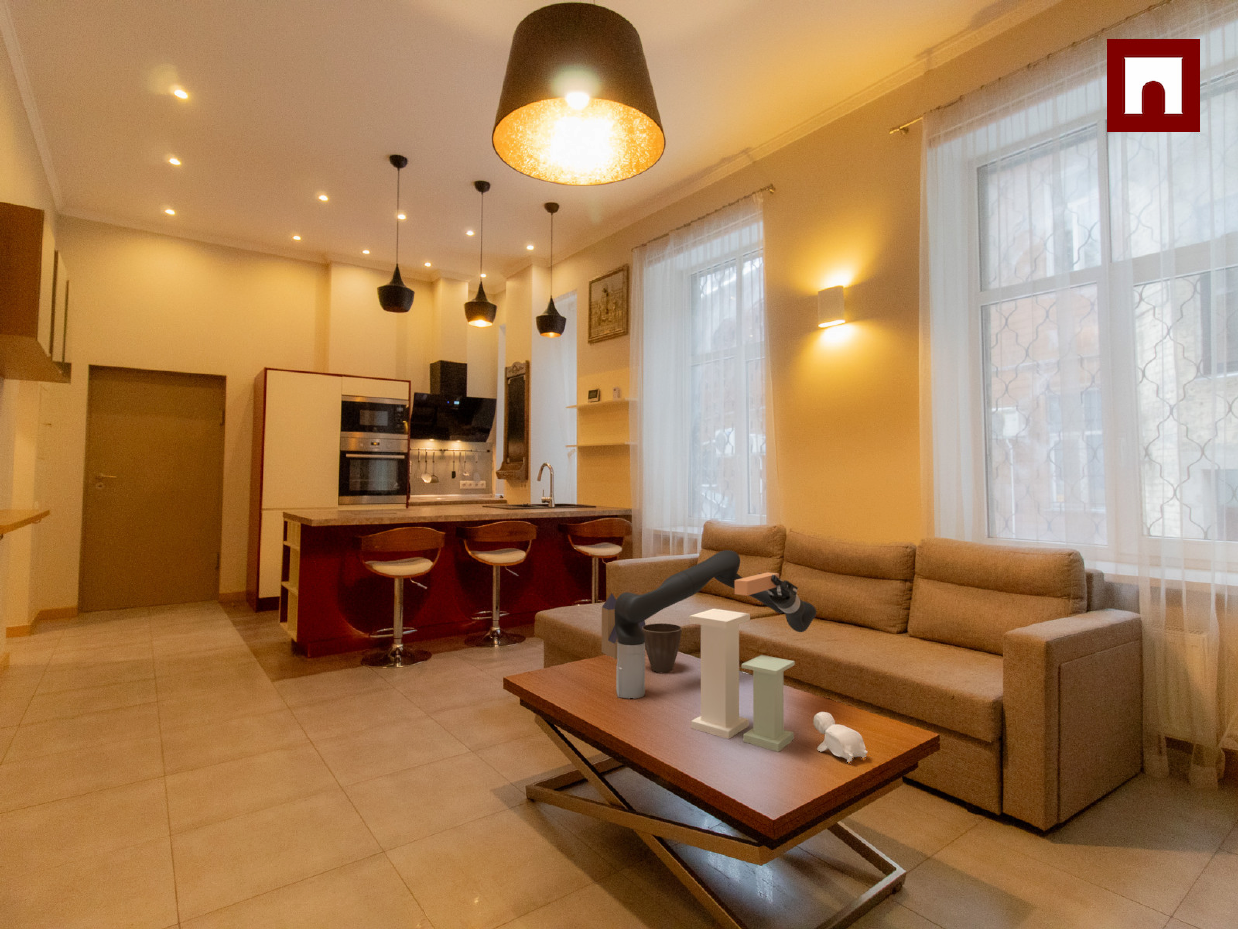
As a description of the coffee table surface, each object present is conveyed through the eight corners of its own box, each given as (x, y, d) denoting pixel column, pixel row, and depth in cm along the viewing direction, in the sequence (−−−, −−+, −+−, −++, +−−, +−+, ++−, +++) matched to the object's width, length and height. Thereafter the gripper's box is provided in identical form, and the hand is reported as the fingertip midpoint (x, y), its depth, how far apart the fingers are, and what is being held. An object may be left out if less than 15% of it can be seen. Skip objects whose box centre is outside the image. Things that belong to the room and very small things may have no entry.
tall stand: (714, 715, 184) (713, 608, 185) (750, 725, 177) (749, 613, 178) (689, 729, 173) (689, 615, 175) (726, 740, 166) (726, 621, 167)
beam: (767, 585, 194) (767, 572, 194) (779, 586, 191) (779, 573, 191) (734, 594, 176) (734, 580, 177) (747, 595, 174) (747, 581, 174)
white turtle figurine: (865, 769, 156) (824, 728, 168) (874, 742, 153) (832, 702, 166) (840, 776, 152) (800, 733, 165) (849, 748, 149) (808, 707, 162)
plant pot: (641, 676, 223) (642, 631, 223) (641, 664, 238) (642, 623, 238) (682, 676, 222) (682, 632, 223) (680, 664, 237) (680, 623, 238)
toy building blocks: (601, 652, 255) (601, 592, 256) (640, 647, 263) (641, 589, 264) (614, 659, 244) (614, 596, 245) (655, 654, 252) (655, 593, 253)
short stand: (761, 729, 173) (761, 655, 174) (795, 738, 167) (794, 661, 168) (741, 743, 164) (741, 664, 165) (776, 753, 158) (776, 671, 159)
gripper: (767, 585, 206) (747, 563, 194) (808, 589, 197) (790, 567, 186) (762, 606, 202) (742, 585, 191) (804, 611, 194) (785, 590, 182)
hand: (765, 576), depth 188 cm, fingers closed on beam, 4 cm apart
